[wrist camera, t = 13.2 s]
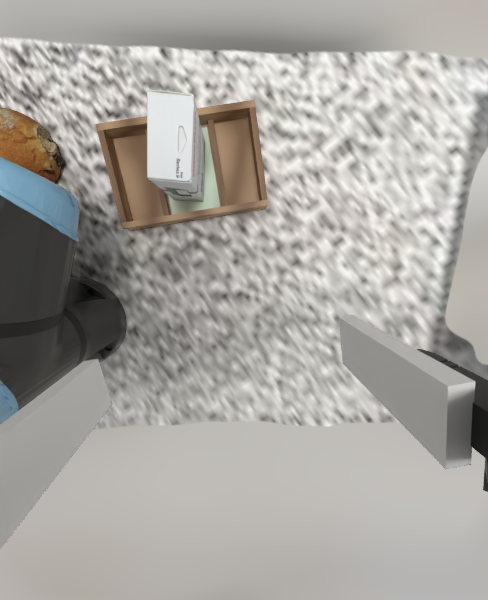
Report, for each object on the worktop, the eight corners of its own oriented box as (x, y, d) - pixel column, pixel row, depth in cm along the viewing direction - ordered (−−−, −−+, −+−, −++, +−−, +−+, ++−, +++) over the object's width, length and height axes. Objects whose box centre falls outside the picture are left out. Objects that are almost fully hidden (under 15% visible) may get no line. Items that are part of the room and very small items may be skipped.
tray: (132, 230, 38) (122, 228, 35) (108, 136, 35) (95, 124, 32) (264, 209, 39) (268, 205, 35) (252, 114, 36) (254, 99, 32)
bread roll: (34, 125, 38) (-40, 84, 30) (76, 138, 35) (5, 96, 27) (21, 187, 40) (-52, 163, 32) (60, 205, 36) (-10, 183, 29)
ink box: (172, 138, 35) (143, 83, 23) (206, 141, 35) (194, 89, 24) (172, 200, 37) (145, 178, 25) (204, 203, 37) (192, 182, 26)
